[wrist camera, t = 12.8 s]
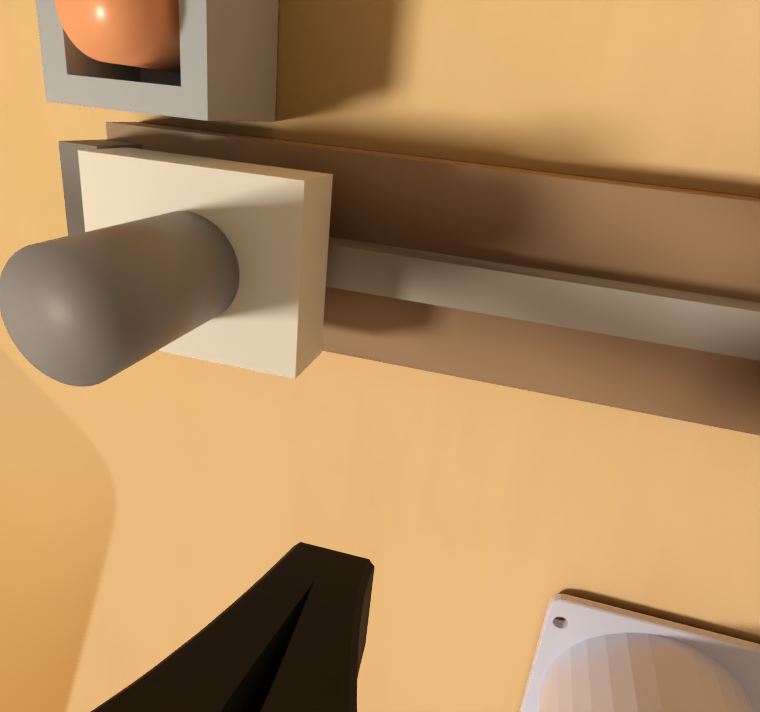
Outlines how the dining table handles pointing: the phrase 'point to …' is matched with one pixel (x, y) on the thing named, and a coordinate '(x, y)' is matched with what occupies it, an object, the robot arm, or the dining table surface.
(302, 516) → the dining table surface
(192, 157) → the carriage
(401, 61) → the dining table surface
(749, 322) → the rail board
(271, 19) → the box
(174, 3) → the orange cylindrical peg
